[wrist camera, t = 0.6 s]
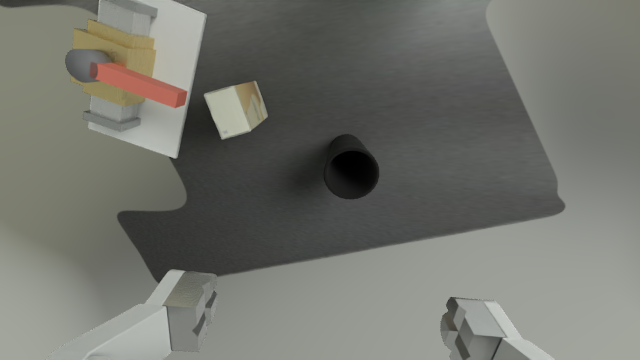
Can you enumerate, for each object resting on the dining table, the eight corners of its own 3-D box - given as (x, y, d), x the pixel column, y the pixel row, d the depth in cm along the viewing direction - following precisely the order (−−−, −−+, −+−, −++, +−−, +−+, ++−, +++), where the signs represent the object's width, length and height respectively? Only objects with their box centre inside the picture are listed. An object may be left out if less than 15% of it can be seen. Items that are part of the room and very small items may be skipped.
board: (105, -27, 44) (101, -29, 43) (207, 14, 46) (205, 13, 45) (91, 127, 53) (87, 128, 52) (177, 157, 54) (175, 158, 54)
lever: (84, 44, 40) (66, 43, 37) (189, 84, 42) (179, 85, 39) (82, 74, 42) (64, 75, 39) (183, 111, 43) (173, 115, 40)
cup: (322, 129, 52) (321, 149, 41) (367, 126, 52) (378, 145, 40) (326, 172, 55) (326, 201, 44) (368, 169, 54) (379, 197, 43)
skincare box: (269, 116, 51) (252, 133, 40) (245, 123, 52) (222, 142, 40) (255, 77, 49) (234, 84, 38) (230, 85, 50) (202, 94, 38)
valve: (116, -8, 45) (76, -21, 37) (164, 11, 45) (134, 2, 38) (104, 111, 51) (68, 119, 44) (145, 125, 52) (117, 137, 45)
